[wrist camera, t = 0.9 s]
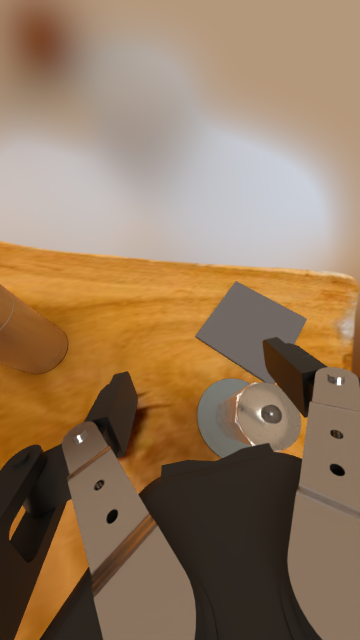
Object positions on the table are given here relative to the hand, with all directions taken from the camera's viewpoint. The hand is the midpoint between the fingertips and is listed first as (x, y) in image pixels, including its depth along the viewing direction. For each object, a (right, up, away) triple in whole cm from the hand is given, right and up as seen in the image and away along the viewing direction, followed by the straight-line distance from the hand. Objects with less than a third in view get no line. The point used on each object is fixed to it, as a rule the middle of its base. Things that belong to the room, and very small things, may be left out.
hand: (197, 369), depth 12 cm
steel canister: (+8, -13, +20) cm, 25 cm away
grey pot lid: (+8, -13, +21) cm, 26 cm away
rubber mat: (+13, +1, +28) cm, 31 cm away
